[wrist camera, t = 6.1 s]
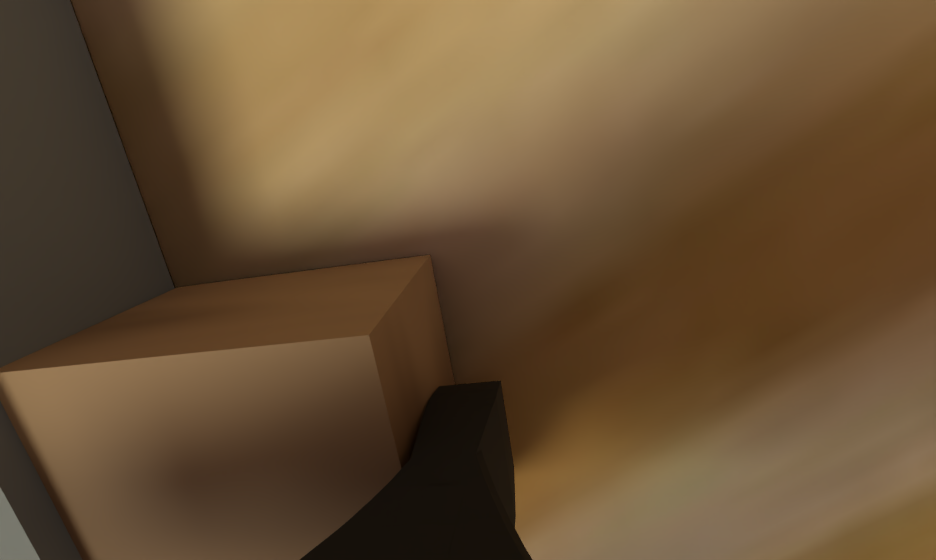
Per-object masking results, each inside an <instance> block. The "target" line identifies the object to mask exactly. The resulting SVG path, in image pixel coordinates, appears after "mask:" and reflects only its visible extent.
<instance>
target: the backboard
mask: <svg viewBox="0 0 936 560" xmlns="http://www.w3.org/2000/svg"><path fill="white" fill-rule="evenodd" d="M172 289H175V288H174V285H173V282H172V280H171V277H170V274H169V271H168V269H167V266H166V263H165V260H164V258H163V255H162V252H161V249H160V247H159V244H158V241H157V238H156V236H155V233H154V230H153V227H152V225H151V222H150V219H149V216H148V214H147V211H146V208H145V205H144V203H143V200H142V197H141V194H140V192H139V189H138V186H137V183H136V181H135V178H134V175H133V172H132V170H131V167H130V164H129V161H128V159H127V156H126V153H125V150H124V148H123V145H122V142H121V139H120V137H119V134H118V131H117V128H116V126H115V123H114V120H113V117H112V115H111V112H110V109H109V106H108V104H107V101H106V98H105V95H104V93H103V90H102V87H101V84H100V82H99V79H98V76H97V73H96V71H95V68H94V65H93V62H92V60H91V57H90V54H89V51H88V49H87V46H86V43H85V40H84V38H83V35H82V32H81V29H80V27H79V24H78V21H77V18H76V16H75V13H74V10H73V7H72V5H71V2H70V0H0V368H1V367H3V366H5V365H7V364H9V363H12V362H14V361H16V360H18V359H21V358H23V357H25V356H27V355H29V354H32V353H34V352H36V351H38V350H40V349H43V348H45V347H47V346H49V345H51V344H54V343H56V342H58V341H60V340H62V339H65V338H67V337H69V336H71V335H73V334H76V333H78V332H80V331H82V330H84V329H87V328H89V327H91V326H93V325H95V324H98V323H100V322H102V321H104V320H106V319H109V318H111V317H113V316H115V315H117V314H120V313H122V312H124V311H126V310H128V309H131V308H133V307H135V306H137V305H139V304H142V303H144V302H146V301H148V300H150V299H153V298H155V297H157V296H159V295H161V294H164V293H166V292H168V291H170V290H172ZM0 560H82V558H81V556H80V554H79V552H78V550H77V548H76V546H75V544H74V542H73V540H72V539H71V537H70V535H69V533H68V531H67V529H66V527H65V525H64V523H63V521H62V519H61V517H60V515H59V513H58V511H57V510H56V508H55V506H54V504H53V502H52V500H51V498H50V496H49V494H48V492H47V490H46V488H45V486H44V484H43V483H42V481H41V479H40V477H39V475H38V473H37V471H36V469H35V467H34V465H33V463H32V461H31V459H30V457H29V455H28V454H27V452H26V450H25V448H24V446H23V444H22V442H21V440H20V438H19V436H18V434H17V432H16V430H15V428H14V426H13V425H12V423H11V421H10V419H9V417H8V415H7V413H6V411H5V409H4V407H3V405H2V403H1V401H0Z"/></svg>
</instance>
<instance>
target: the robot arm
mask: <svg viewBox="0 0 936 560" xmlns="http://www.w3.org/2000/svg"><path fill="white" fill-rule="evenodd" d="M300 560H532V558H531V557H530V555H529V554H528V552H527V550H526V549H525V547H524V545H523V543H522V541H521V539H520V538H519V536H518V534H517V532H516V530H515V483H514V464H513V458H512V451H511V445H510V438H509V432H508V426H507V419H506V413H505V406H504V400H503V394H502V387H501V381H492V382H481V383H470V384H458V385H447V386H439V387H438V388H437V389H436V391H435V392H434V393H433V394H432V396H431V398H430V399H429V401H428V402H427V405H426V408H425V411H424V414H423V418H422V421H421V424H420V428H419V431H418V435H417V438H416V442H415V445H414V448H413V452H412V455H411V459H410V460H409V461H408V462H407V463H406V464H405V465H404V466H403V467H402V469H401V470H400V471H399V472H398V473H397V474H396V475H395V476H394V477H393V479H392V480H391V481H390V482H389V483H388V484H387V485H386V486H385V487H384V488H383V489H382V490H381V491H380V492H379V493H378V494H376V495H375V496H374V497H373V498H372V499H371V500H370V501H369V502H368V503H367V504H366V505H365V506H364V507H362V508H361V509H360V510H359V511H358V512H357V513H356V514H355V515H354V516H353V517H351V518H350V519H349V520H348V521H347V522H346V523H345V524H343V525H342V526H341V527H340V528H339V529H338V530H336V531H335V532H334V533H333V534H331V535H330V536H329V537H328V538H326V539H325V540H324V541H322V542H321V543H320V544H319V545H317V546H316V547H315V548H314V549H312V550H311V551H310V552H309V553H307V554H306V555H305V556H304V557H302V558H301V559H300Z"/></svg>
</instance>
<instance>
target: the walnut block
mask: <svg viewBox="0 0 936 560" xmlns="http://www.w3.org/2000/svg"><path fill="white" fill-rule="evenodd" d="M447 385H455V383H454V378H453V372H452V367H451V362H450V357H449V351H448V346H447V341H446V336H445V330H444V325H443V320H442V314H441V309H440V304H439V299H438V293H437V288H436V283H435V278H434V272H433V267H432V262H431V256H430V255H424V256H416V257H408V258H400V259H393V260H385V261H377V262H369V263H362V264H354V265H346V266H338V267H330V268H323V269H315V270H307V271H299V272H292V273H284V274H276V275H268V276H260V277H253V278H245V279H237V280H229V281H222V282H214V283H206V284H198V285H191V286H183V287H177V288H175V289H172V290H170V291H168V292H166V293H164V294H161V295H159V296H157V297H155V298H153V299H150V300H148V301H146V302H144V303H142V304H139V305H137V306H135V307H133V308H131V309H128V310H126V311H124V312H122V313H120V314H117V315H115V316H113V317H111V318H109V319H106V320H104V321H102V322H100V323H98V324H95V325H93V326H91V327H89V328H87V329H84V330H82V331H80V332H78V333H76V334H73V335H71V336H69V337H67V338H65V339H62V340H60V341H58V342H56V343H54V344H51V345H49V346H47V347H45V348H43V349H40V350H38V351H36V352H34V353H32V354H29V355H27V356H25V357H23V358H21V359H18V360H16V361H14V362H12V363H9V364H7V365H5V366H3V367H1V368H0V401H1V403H2V405H3V407H4V409H5V411H6V413H7V415H8V417H9V419H10V421H11V423H12V425H13V426H14V428H15V430H16V432H17V434H18V436H19V438H20V440H21V442H22V444H23V446H24V448H25V450H26V452H27V454H28V455H29V457H30V459H31V461H32V463H33V465H34V467H35V469H36V471H37V473H38V475H39V477H40V479H41V481H42V483H43V484H44V486H45V488H46V490H47V492H48V494H49V496H50V498H51V500H52V502H53V504H54V506H55V508H56V510H57V511H58V513H59V515H60V517H61V519H62V521H63V523H64V525H65V527H66V529H67V531H68V533H69V535H70V537H71V539H72V540H73V542H74V544H75V546H76V548H77V550H78V552H79V554H80V556H81V558H82V560H300V559H301V558H302V557H304V556H305V555H306V554H307V553H309V552H310V551H311V550H312V549H314V548H315V547H316V546H317V545H319V544H320V543H321V542H322V541H324V540H325V539H326V538H328V537H329V536H330V535H331V534H333V533H334V532H335V531H336V530H338V529H339V528H340V527H341V526H342V525H343V524H345V523H346V522H347V521H348V520H349V519H350V518H351V517H353V516H354V515H355V514H356V513H357V512H358V511H359V510H360V509H361V508H362V507H364V506H365V505H366V504H367V503H368V502H369V501H370V500H371V499H372V498H373V497H374V496H375V495H376V494H378V493H379V492H380V491H381V490H382V489H383V488H384V487H385V486H386V485H387V484H388V483H389V482H390V481H391V480H392V479H393V477H394V476H395V475H396V474H397V473H398V472H399V471H400V470H401V469H402V467H403V466H404V465H405V464H406V463H407V462H408V461H409V460H410V459H411V455H412V452H413V448H414V445H415V442H416V438H417V435H418V431H419V428H420V424H421V421H422V418H423V414H424V411H425V408H426V405H427V402H428V401H429V399H430V398H431V396H432V394H433V393H434V392H435V391H436V389H437V388H438V387H439V386H447Z"/></svg>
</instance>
